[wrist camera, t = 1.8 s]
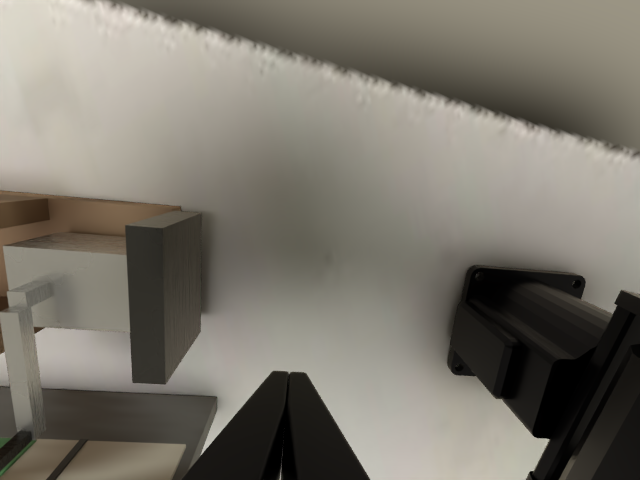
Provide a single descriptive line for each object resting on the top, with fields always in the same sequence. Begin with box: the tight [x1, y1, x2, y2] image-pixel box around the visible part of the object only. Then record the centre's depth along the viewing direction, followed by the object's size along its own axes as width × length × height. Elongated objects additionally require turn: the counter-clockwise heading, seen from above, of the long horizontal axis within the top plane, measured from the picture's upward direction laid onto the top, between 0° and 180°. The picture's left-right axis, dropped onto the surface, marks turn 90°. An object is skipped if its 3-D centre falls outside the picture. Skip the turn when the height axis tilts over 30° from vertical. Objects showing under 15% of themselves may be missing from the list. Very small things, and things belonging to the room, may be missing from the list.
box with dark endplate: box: [0, 211, 202, 471], centre depth 12 cm, size 6×8×6 cm
